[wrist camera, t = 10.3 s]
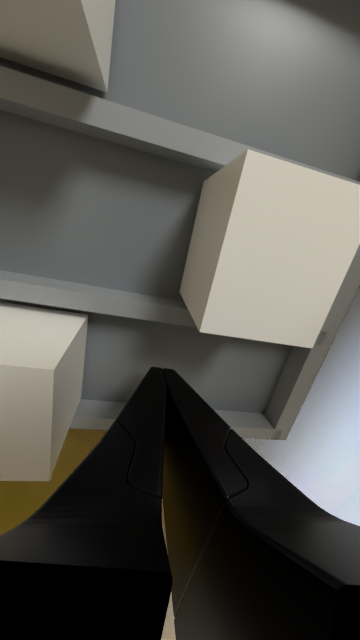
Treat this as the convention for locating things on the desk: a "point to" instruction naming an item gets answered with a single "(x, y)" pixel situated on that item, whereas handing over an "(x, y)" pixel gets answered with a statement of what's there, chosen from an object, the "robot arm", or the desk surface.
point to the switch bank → (172, 188)
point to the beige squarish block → (269, 250)
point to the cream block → (37, 387)
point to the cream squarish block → (60, 37)
